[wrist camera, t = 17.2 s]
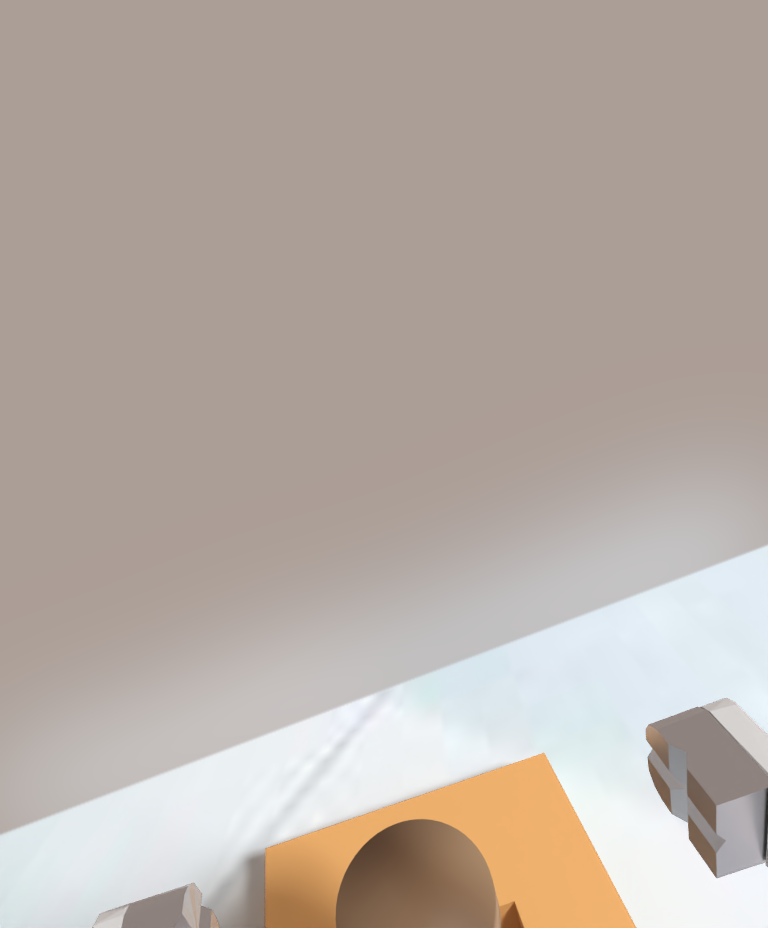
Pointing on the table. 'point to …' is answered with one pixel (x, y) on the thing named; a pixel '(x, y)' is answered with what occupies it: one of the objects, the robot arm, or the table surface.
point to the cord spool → (418, 881)
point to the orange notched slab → (492, 831)
